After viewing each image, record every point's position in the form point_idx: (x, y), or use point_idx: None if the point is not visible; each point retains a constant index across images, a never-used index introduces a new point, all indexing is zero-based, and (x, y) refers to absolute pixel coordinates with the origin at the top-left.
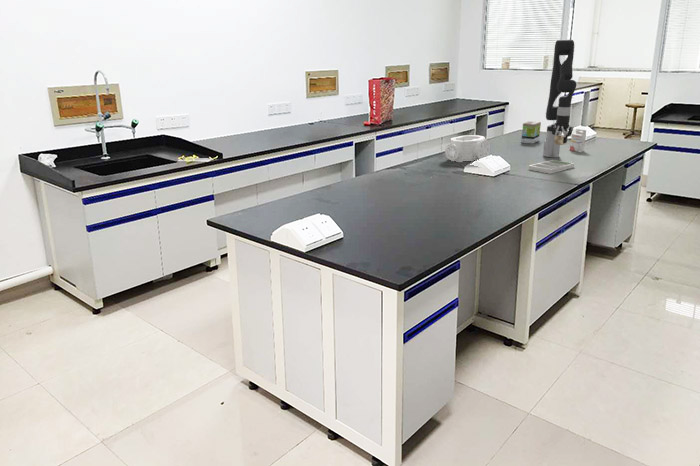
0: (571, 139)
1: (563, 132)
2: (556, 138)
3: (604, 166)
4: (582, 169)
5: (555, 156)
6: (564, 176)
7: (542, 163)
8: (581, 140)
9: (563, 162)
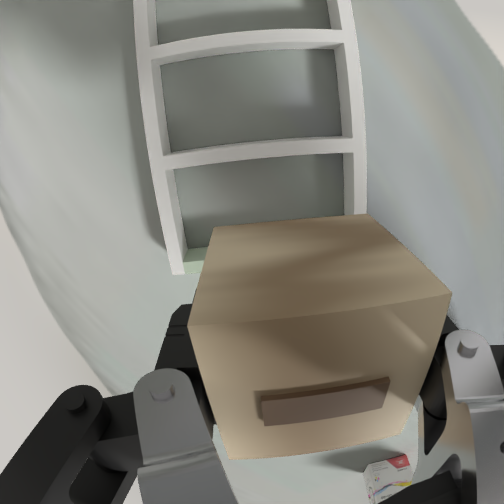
0: None
1: (194, 482)
2: (379, 265)
3: (122, 383)
4: (107, 252)
5: None
6: (48, 13)
7: (347, 90)
8: (377, 498)
9: None
